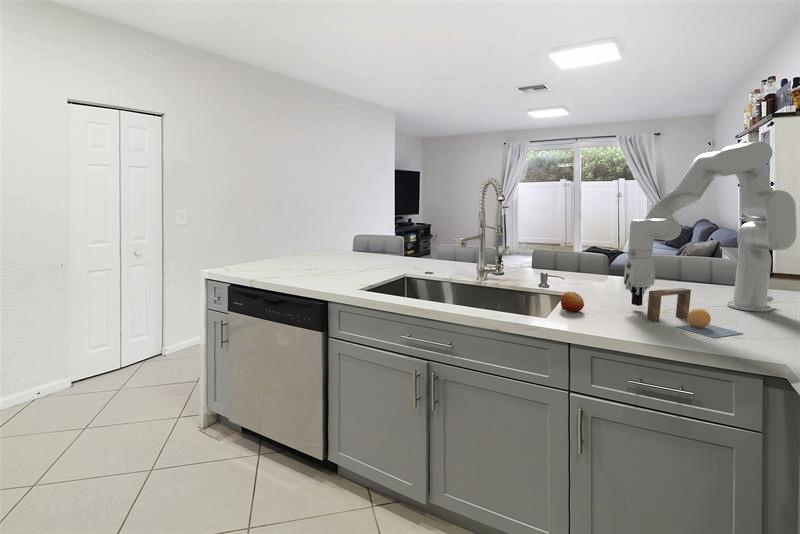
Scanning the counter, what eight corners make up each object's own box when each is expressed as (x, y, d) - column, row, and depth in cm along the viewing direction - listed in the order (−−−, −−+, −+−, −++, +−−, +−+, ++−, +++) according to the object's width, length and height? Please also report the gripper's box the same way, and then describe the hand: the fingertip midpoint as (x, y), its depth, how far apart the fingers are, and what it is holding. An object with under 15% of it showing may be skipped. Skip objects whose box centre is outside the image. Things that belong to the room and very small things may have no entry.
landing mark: (703, 323, 143) (703, 322, 143) (743, 333, 132) (743, 333, 132) (676, 327, 139) (676, 326, 139) (714, 338, 128) (714, 337, 128)
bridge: (646, 319, 148) (649, 291, 146) (680, 315, 153) (682, 287, 151) (654, 322, 145) (657, 292, 143) (688, 317, 150) (691, 289, 148)
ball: (707, 304, 138) (719, 320, 135) (695, 315, 143) (706, 331, 139) (691, 305, 137) (702, 321, 133) (679, 316, 142) (690, 332, 138)
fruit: (559, 303, 165) (572, 286, 162) (577, 316, 162) (590, 299, 158) (551, 307, 159) (564, 289, 156) (570, 321, 156) (583, 304, 152)
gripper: (632, 256, 152) (629, 309, 155) (665, 254, 157) (661, 305, 160) (615, 254, 159) (612, 304, 162) (647, 252, 164) (643, 300, 167)
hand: (636, 304), depth 161 cm, fingers closed
